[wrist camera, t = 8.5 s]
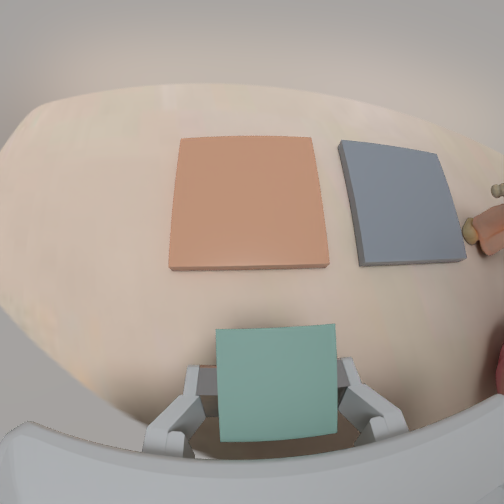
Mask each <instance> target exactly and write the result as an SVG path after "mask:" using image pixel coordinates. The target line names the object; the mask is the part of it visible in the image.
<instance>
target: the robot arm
mask: <svg viewBox="0 0 504 504" xmlns="http://www.w3.org/2000/svg"><path fill="white" fill-rule="evenodd" d="M337 409H338V410H339V411H340V412H341V414H342V415H343V416H344V417H345V418H346V419H347V420H348V421H349V422H351V423H352V424H353V425H354V426H355V427H356V428H357V429H358V430H359V431H360V432H361V434H360V435H359V437H358V438H357V440H356V441H355V442H354V447H352V448H347V449H342V450H336V451H331V452H325V453H319V454H312V455H304V456H295V457H285V458H273V459H253V460H214V459H195V454H194V452H193V450H192V448H191V446H190V445H189V442H188V441H189V439H190V438H191V437H192V435H193V434H194V433H195V431H196V430H197V429H198V428H199V426H200V425H201V424H202V422H203V421H204V420H205V418H206V417H219V410H218V387H217V366H214V365H188V367H187V372H186V378H185V385H184V391H183V395H179V396H178V397H177V398H176V399H175V400H174V401H173V402H172V403H171V404H170V405H169V406H168V407H167V408H166V409H165V410H164V411H163V412H162V413H161V414H160V415H159V416H158V417H157V418H156V419H155V420H154V421H153V422H152V423H151V424H150V425H149V426H148V427H147V429H146V434H145V439H144V444H143V449H142V452H137V451H131V450H126V449H121V448H117V447H112V446H108V445H103V444H99V443H96V442H92V441H88V440H84V439H81V438H78V437H74V436H71V435H68V434H65V433H62V432H59V431H56V430H53V429H51V428H48V427H45V426H43V425H40V424H38V423H35V422H32V421H27V422H24V423H22V424H21V425H19V426H17V427H16V428H14V429H13V430H11V431H10V432H8V433H7V434H6V435H5V437H4V438H3V439H2V441H1V443H0V504H504V395H502V394H495V395H493V396H491V397H489V398H487V399H486V400H484V401H482V402H480V403H478V404H476V405H474V406H472V407H470V408H468V409H466V410H463V411H461V412H459V413H457V414H455V415H452V416H450V417H448V418H445V419H443V420H440V421H438V422H435V423H433V424H430V425H427V426H425V427H422V428H419V429H416V430H413V431H410V432H409V429H408V427H407V424H406V422H405V419H404V417H403V414H402V412H401V410H400V409H399V408H397V407H396V406H395V405H393V404H392V403H390V402H389V401H388V400H386V399H385V398H384V397H382V396H381V395H380V394H378V393H377V392H375V391H374V390H373V389H371V388H370V387H369V386H367V385H366V384H362V383H361V380H360V377H359V375H358V372H357V369H356V367H355V364H354V362H353V359H352V358H351V357H345V358H337Z"/></svg>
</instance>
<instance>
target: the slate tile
mask: <svg viewBox="0 0 504 504" xmlns="http://www.w3.org/2000/svg"><path fill="white" fill-rule="evenodd" d="M338 150H339V154H340V158H341V162H342V167H343V171H344V176H345V181H346V186H347V191H348V196H349V201H350V207H351V212H352V218H353V224H354V230H355V237H356V244H357V251H358V258H359V266H379V265H401V264H422V263H441V262H459V261H462V260H464V259H466V258H467V255H466V251H465V246H464V241H463V237H462V233H461V229H460V225H459V221H458V217H457V213H456V210H455V206H454V203H453V200H452V196H451V193H450V190H449V187H448V184H447V181H446V178H445V175H444V173H443V170H442V167H441V164H440V162H439V159H438V157H437V154H434V153H429V152H424V151H418V150H413V149H407V148H401V147H395V146H388V145H381V144H374V143H366V142H357V141H348V140H341V142H340V144H339V146H338Z"/></svg>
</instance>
